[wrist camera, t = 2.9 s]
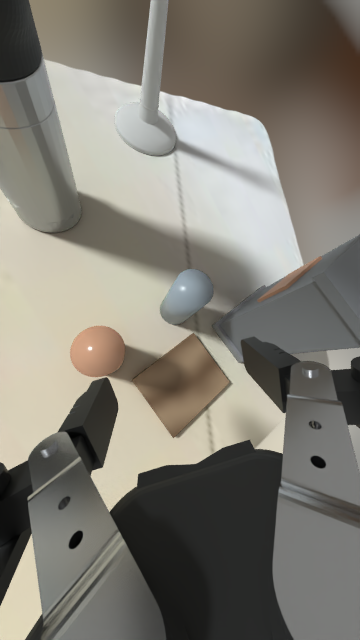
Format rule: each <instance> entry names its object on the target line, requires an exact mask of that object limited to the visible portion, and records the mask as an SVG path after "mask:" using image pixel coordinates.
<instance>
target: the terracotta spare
mask: <svg viewBox="0 0 360 640" xmlns="http://www.w3.org/2000/svg"><path fill="white" fill-rule="evenodd" d="M124 355H125V344H124V341H123V339H122V337H121V336H120V335H119V333H117V332H116V331H115V330H113V329H112V328H109V327H106V326H94V327H90V328H87V329H85V330H84V331H82V332H81V333H80V334H79V335H78V336H77V337H76V338H75V339H74V341H73V343H72V346H71V350H70V356H71V361H72V363H73V365H74V367H75V368H76V369H77V370H78V371H79V372H81V373H82V374H84V375H87V376H90V377H101V376H105V375H108V374H110V373H113V372H115V371H116V370H118V369H119V368H120V366H121V365H122V363H123V360H124Z"/></svg>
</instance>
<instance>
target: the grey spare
mask: <svg viewBox="0 0 360 640" xmlns="http://www.w3.org/2000/svg"><path fill="white" fill-rule="evenodd" d="M212 297H213V284H212V282H211V280H210V279H209V277H208V276H207V275H206V274H205V273H203V272H202V271H199V270H196V269H187V270H185V271H183V272H181V273H180V274H179V275H178V277H177V279H176V280H175V282H174V284H173V285H172V287H171V289H170V290H169V292H168V294H167V295H166V297H165V299H164V300H163V302H162V304H161V306H160V313H161V316H162V318H163V319H164V320H165V321H166V322H168V323H170V324H173V325H178V324H181V323H183V322H184V321H185V320H187V319H188V318H189V317H191V316H192V315H193V314H194V313H196V312H197V311H198V310H200V309H201V308H202V307H204V306H205V305H206V304H207V303H209V302H210V300H211V299H212Z"/></svg>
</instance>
